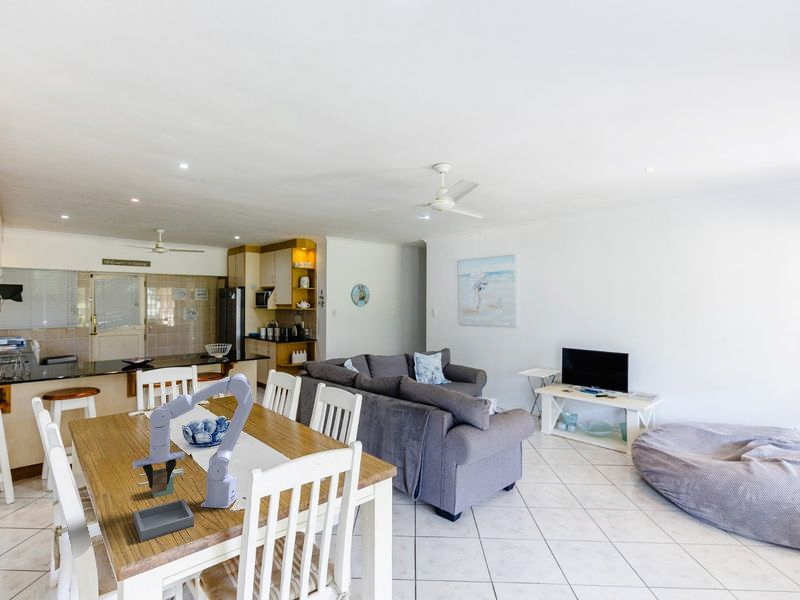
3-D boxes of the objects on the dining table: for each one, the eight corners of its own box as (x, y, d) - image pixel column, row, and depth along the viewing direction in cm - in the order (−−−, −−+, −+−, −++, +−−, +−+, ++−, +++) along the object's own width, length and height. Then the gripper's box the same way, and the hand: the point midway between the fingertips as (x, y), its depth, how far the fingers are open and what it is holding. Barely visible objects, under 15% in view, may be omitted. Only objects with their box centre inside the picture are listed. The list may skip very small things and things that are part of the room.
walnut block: (164, 485, 136) (164, 467, 136) (166, 490, 133) (167, 471, 133) (150, 489, 134) (151, 470, 134) (152, 493, 131) (153, 474, 131)
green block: (169, 487, 150) (170, 465, 150) (173, 493, 146) (173, 471, 146) (150, 491, 146) (151, 469, 146) (153, 498, 142) (154, 475, 142)
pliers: (139, 471, 159) (183, 465, 167) (139, 476, 159) (182, 469, 167) (137, 482, 151) (183, 474, 158) (137, 486, 151) (183, 478, 158)
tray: (183, 507, 136) (183, 498, 136) (194, 526, 125) (194, 516, 125) (133, 521, 127) (133, 511, 127) (140, 542, 116) (140, 531, 116)
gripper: (181, 436, 141) (180, 475, 141) (132, 444, 132) (131, 486, 132) (186, 442, 136) (185, 482, 136) (135, 451, 127) (133, 494, 126)
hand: (158, 485), depth 133 cm, fingers closed on walnut block, 4 cm apart
